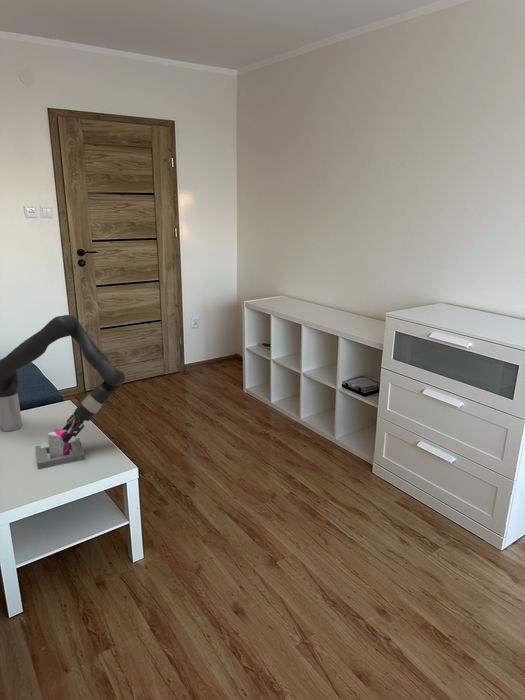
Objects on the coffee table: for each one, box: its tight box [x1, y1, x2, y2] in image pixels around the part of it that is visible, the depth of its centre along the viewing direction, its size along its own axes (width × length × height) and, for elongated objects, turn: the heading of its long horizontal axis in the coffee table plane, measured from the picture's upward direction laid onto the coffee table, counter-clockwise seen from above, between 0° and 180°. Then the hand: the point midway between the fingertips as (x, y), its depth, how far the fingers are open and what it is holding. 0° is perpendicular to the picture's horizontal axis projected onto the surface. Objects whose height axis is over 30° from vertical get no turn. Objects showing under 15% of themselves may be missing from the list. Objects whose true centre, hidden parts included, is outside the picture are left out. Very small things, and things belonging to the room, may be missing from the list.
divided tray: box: [35, 437, 86, 470], centre depth 211 cm, size 16×18×3 cm
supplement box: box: [47, 428, 70, 459], centre depth 209 cm, size 6×6×12 cm
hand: (63, 437), depth 209 cm, fingers open, 8 cm apart
